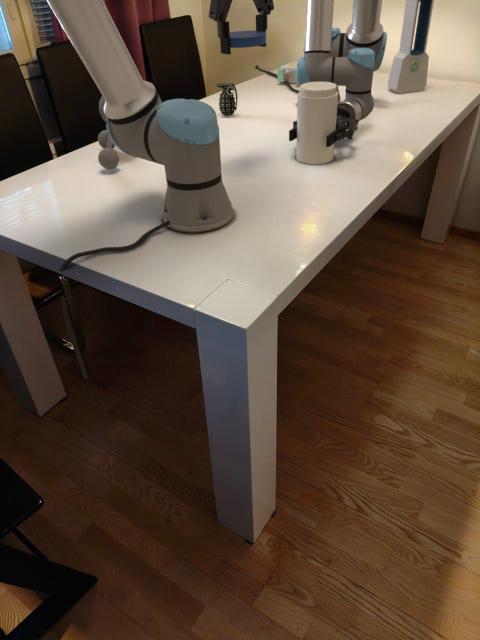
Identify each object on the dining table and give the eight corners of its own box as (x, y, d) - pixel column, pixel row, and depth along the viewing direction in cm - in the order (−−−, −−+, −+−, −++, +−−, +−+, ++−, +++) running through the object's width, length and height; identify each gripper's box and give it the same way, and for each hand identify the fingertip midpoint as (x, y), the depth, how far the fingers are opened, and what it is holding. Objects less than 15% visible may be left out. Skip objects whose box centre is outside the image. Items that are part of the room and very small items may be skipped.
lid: (275, 42, 115) (275, 33, 113) (237, 49, 110) (237, 39, 109) (249, 38, 122) (248, 29, 121) (212, 44, 117) (212, 35, 116)
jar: (289, 161, 132) (291, 88, 121) (305, 149, 139) (308, 79, 128) (324, 166, 128) (329, 92, 117) (339, 154, 134) (344, 82, 123)
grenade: (217, 117, 168) (214, 86, 162) (221, 112, 172) (219, 82, 166) (235, 117, 166) (233, 86, 160) (239, 113, 171) (238, 82, 165)
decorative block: (300, 55, 216) (341, 58, 206) (299, 71, 220) (340, 74, 210) (268, 66, 200) (311, 70, 190) (268, 83, 204) (310, 87, 194)
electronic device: (396, 93, 181) (409, -3, 162) (386, 89, 187) (397, -4, 168) (425, 90, 183) (442, -6, 165) (415, 85, 189) (429, -7, 170)
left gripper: (207, -66, 95) (216, 59, 109) (290, -71, 107) (289, 43, 120) (184, -65, 100) (196, 56, 113) (266, -69, 111) (267, 41, 125)
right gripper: (379, 134, 138) (348, 159, 124) (308, 124, 148) (271, 147, 134) (383, 106, 133) (351, 129, 119) (308, 98, 144) (270, 118, 130)
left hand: (243, 49), depth 117 cm, fingers closed on lid, 11 cm apart
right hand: (308, 138), depth 127 cm, fingers closed on jar, 10 cm apart
